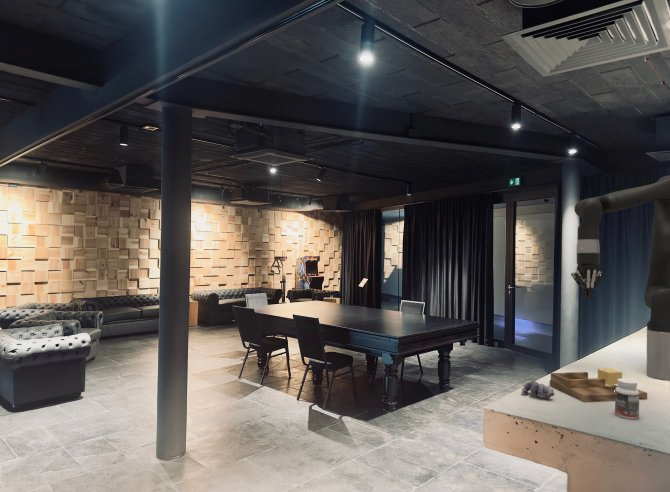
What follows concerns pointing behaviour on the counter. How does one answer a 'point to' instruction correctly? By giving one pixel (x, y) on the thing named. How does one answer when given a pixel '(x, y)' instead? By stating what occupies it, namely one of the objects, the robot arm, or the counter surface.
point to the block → (609, 375)
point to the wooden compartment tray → (593, 392)
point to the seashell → (538, 390)
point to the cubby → (576, 380)
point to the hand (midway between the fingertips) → (587, 297)
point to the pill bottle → (627, 399)
